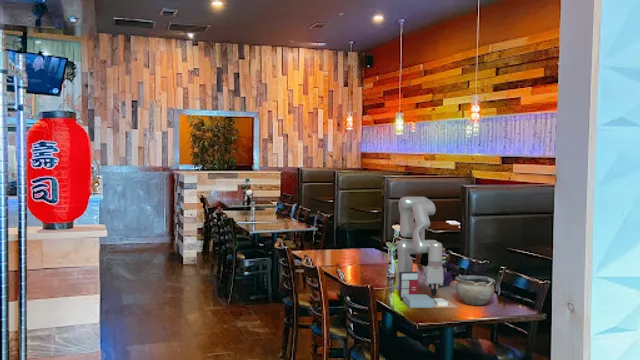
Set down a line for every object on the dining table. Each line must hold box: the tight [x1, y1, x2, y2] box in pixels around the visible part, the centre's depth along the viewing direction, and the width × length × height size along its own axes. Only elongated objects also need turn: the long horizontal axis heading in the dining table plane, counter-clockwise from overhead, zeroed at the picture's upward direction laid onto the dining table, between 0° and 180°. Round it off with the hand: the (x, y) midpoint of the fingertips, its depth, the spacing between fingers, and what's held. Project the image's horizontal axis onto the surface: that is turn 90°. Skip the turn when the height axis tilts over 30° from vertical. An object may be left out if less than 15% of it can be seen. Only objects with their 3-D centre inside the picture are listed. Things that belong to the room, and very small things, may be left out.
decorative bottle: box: [423, 247, 460, 288], centre depth 370 cm, size 22×21×25 cm
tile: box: [431, 297, 448, 306], centre depth 322 cm, size 9×6×2 cm, turn 7°
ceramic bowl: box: [455, 275, 496, 306], centre depth 326 cm, size 22×22×15 cm
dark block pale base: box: [398, 271, 419, 299], centre depth 337 cm, size 11×4×15 cm, turn 101°
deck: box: [402, 293, 435, 309], centre depth 320 cm, size 14×14×4 cm
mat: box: [434, 299, 458, 308], centre depth 322 cm, size 14×13×1 cm
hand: (433, 295), depth 322 cm, fingers closed
